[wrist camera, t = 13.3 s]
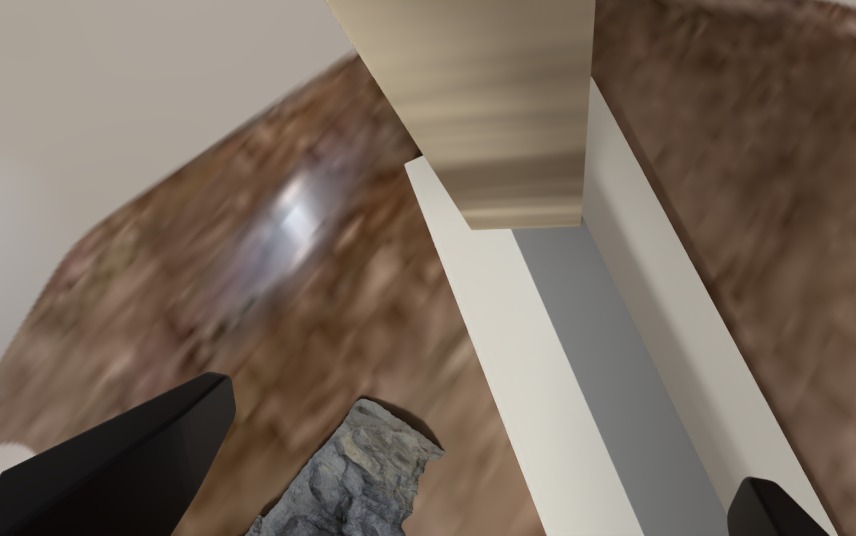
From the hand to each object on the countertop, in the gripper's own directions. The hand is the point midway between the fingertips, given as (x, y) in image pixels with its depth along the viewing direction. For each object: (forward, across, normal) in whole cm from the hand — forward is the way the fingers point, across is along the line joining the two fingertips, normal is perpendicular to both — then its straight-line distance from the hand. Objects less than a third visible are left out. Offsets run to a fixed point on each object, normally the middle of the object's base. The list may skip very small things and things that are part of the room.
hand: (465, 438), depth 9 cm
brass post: (+13, 0, -1) cm, 13 cm away
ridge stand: (+12, -4, +6) cm, 14 cm away
